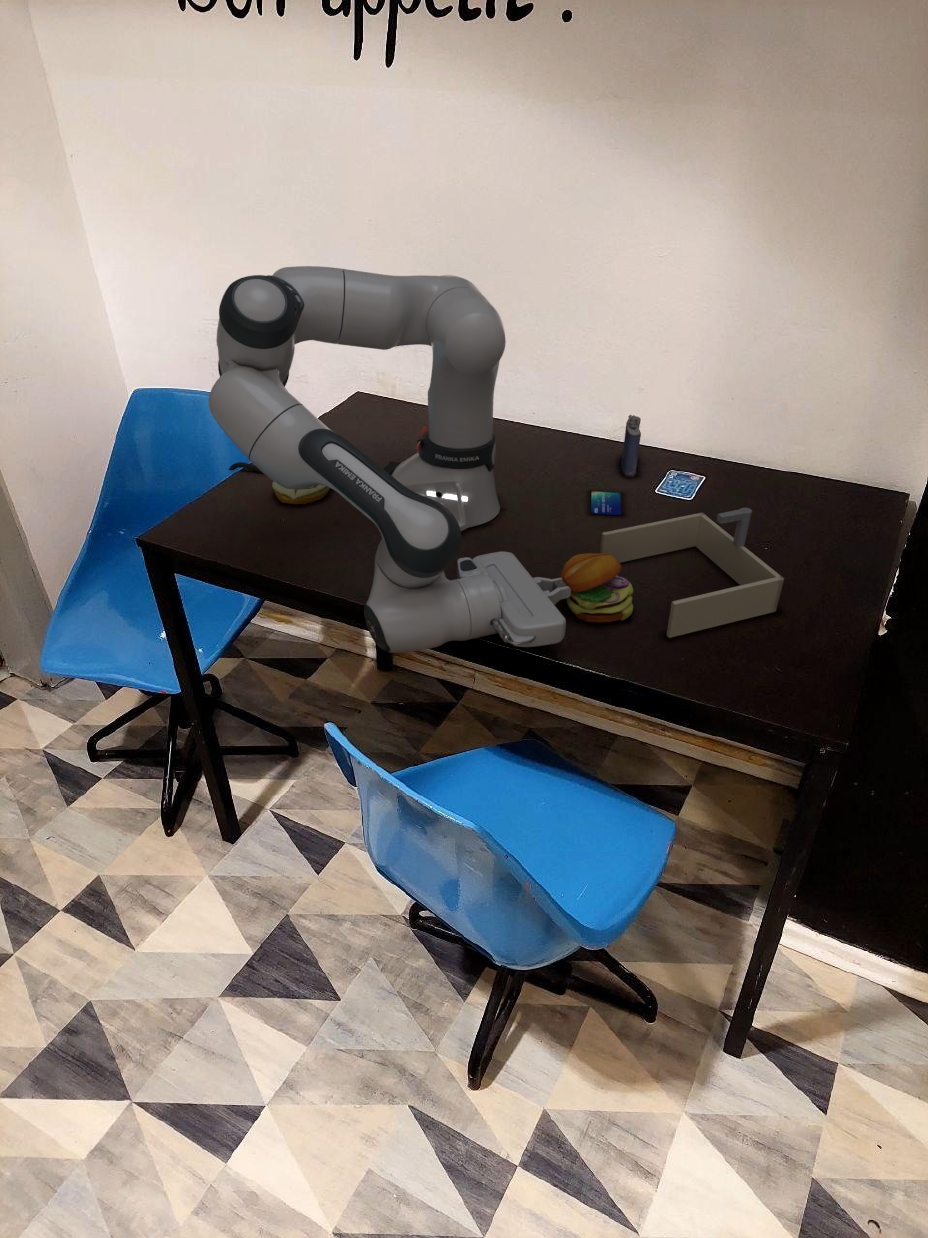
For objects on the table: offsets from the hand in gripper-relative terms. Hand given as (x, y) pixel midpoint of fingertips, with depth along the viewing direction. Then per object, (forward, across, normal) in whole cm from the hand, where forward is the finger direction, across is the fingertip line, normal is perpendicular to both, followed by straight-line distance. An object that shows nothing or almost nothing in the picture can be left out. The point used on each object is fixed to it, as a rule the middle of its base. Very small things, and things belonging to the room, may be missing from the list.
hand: (566, 587), depth 131 cm
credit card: (+23, +29, +5) cm, 37 cm away
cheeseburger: (+5, 0, +5) cm, 7 cm away
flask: (+34, +41, +5) cm, 54 cm away
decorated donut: (-28, +52, +5) cm, 60 cm away
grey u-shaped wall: (+21, 0, +5) cm, 21 cm away
